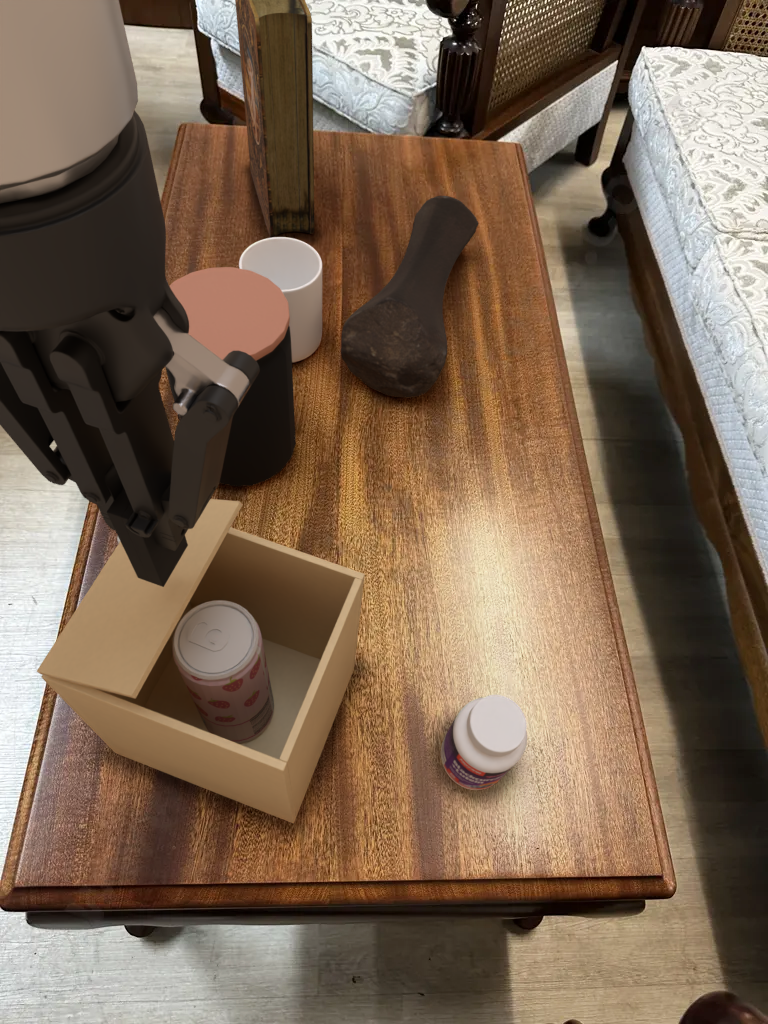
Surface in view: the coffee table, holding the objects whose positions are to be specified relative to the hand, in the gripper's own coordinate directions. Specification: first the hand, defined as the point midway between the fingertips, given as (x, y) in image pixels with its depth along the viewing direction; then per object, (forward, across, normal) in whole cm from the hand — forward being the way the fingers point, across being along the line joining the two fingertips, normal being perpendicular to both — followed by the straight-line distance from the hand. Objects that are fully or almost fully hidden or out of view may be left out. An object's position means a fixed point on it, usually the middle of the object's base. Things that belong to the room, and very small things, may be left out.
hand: (163, 561), depth 38 cm
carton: (+24, +2, 0) cm, 24 cm away
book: (+24, -22, +62) cm, 70 cm away
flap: (+5, -2, 0) cm, 5 cm away
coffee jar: (+24, -9, +24) cm, 35 cm away
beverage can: (+24, +2, 0) cm, 24 cm away
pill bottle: (+24, +21, +3) cm, 32 cm away
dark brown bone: (+24, 0, +49) cm, 54 cm away
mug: (+24, -13, +39) cm, 48 cm away
